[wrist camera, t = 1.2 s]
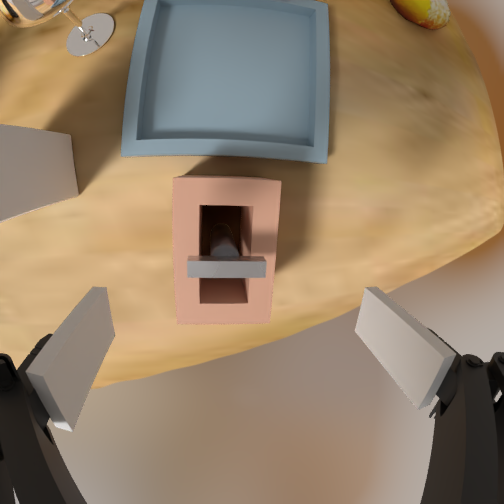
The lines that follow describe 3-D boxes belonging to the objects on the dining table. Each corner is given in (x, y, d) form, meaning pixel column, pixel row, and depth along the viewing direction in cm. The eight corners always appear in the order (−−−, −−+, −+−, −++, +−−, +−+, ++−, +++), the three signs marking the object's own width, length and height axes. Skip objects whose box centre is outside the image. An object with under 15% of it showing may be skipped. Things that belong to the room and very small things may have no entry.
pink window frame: (254, 302, 32) (267, 341, 24) (184, 302, 31) (178, 342, 23) (262, 177, 28) (281, 181, 20) (183, 175, 27) (173, 177, 19)
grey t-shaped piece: (195, 243, 29) (187, 284, 19) (195, 222, 28) (186, 253, 18) (246, 243, 30) (264, 284, 19) (247, 223, 29) (267, 254, 19)
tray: (127, 157, 25) (120, 156, 23) (150, 0, 19) (147, -10, 17) (318, 163, 28) (326, 163, 26) (320, 12, 22) (327, 4, 20)
